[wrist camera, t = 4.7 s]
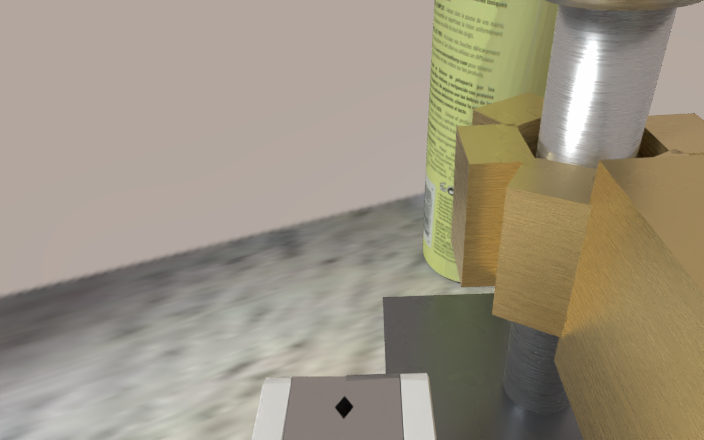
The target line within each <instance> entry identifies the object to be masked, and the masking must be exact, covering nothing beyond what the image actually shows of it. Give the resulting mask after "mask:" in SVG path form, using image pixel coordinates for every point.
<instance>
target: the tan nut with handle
mask: <svg viewBox="0 0 704 440" xmlns="http://www.w3.org/2000/svg"><path fill="white" fill-rule="evenodd" d="M543 103H544V98H543V97H541V96H538V95H536V94H533V93H530V92H527V93H524V94H521V95H518V96H514V97H511V98H508V99H505V100H502V101H498V102H495V103H492V104H489V105H485V106H482V107H479V108H476V109H473V119H472V126H456V147H455V168H454V189H453V210H452V231H451V243H452V248H453V252H454V257H455V261H456V266H457V270H458V275H459V279H460V283H461V287H480V286H495V293H494V301H493V310H492V315H495V316H498V317H501V318H504V319H507V320H510V321H513V322H516V323H519V324H522V325H525V326H528V327H531V328H534V329H536V330H539V331H542V332H545V333H548V334H551V335H554V336H557V337H559V340H558V345H557V349H556V354H555V358H554V362H555V365H556V367H557V370H558V373H559V375H560V378H561V381H562V383H563V386H564V389H565V391H566V394H567V397H568V399H569V402H570V405H571V407H572V410H573V412H574V415H575V418H576V420H577V423H578V426H579V428H580V431H581V434H582V436H583V439H584V440H704V120H702V119H701V118H700V117H699V116H697V115H696V114H695V113H692V114H675V115H656V116H648V117H647V121H646V125H645V128H644V132H643V136H642V139H641V143H640V147H639V150H638V154H637V158H630V159H610V160H599V163H598V167H597V169H593V168H588V167H583V166H577V165H572V164H567V163H561V162H556V161H550V160H545V159H540V158H536V151H537V144H538V137H539V131H540V124H541V117H542V110H543Z"/></svg>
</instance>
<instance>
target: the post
mask: <svg viewBox="0 0 704 440" xmlns="http://www.w3.org/2000/svg"><path fill="white" fill-rule="evenodd" d="M545 1H548V2H551V3H554V4H558V8H557V15H556V22H555V28H554V35H553V42H552V49H551V56H550V62H549V69H548V76H547V83H546V90H545V96H544V103H543V110H542V117H541V124H540V131H539V137H538V144H537V151H536V158H540V159H545V160H550V161H556V162H561V163H567V164H572V165H577V166H583V167H588V168H593V169H597V167H598V163H599V160H610V159H630V158H637V154H638V150H639V147H640V143H641V139H642V136H643V132H644V128H645V125H646V121H647V117H648V113H649V110H650V106H651V102H652V99H653V95H654V91H655V88H656V84H657V80H658V77H659V73H660V69H661V66H662V62H663V58H664V54H665V51H666V47H667V43H668V39H669V36H670V32H671V29H672V25H673V21H674V17H675V14H676V10H677V7H683V6H688V5H692V4H695V3H699V2H701V1H703V0H545ZM493 301H494V293H490V294H462V295H434V296H406V297H383V308H384V334H385V360H386V374H393V373H399V376H400V374H412V373H427V374H428V377H429V381H430V389H431V397H432V405H433V413H434V421H435V429H436V437H437V440H584V439H583V436H582V434H581V431H580V428H579V426H578V423H577V420H576V418H575V415H574V412H573V410H572V407H571V405H570V402H569V399H568V397H567V394H566V391H565V389H564V386H563V383H562V381H561V378H560V375H559V373H558V370H557V367H556V365H555V362H554V358H555V354H556V349H557V345H558V340H559V337H557V336H554V335H551V334H548V333H545V332H542V331H539V330H536V329H534V328H531V327H528V326H525V325H522V324H519V323H516V322H513V321H510V320H507V319H504V318H501V317H498V316H495V315H492V310H493Z"/></svg>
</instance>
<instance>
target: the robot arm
mask: <svg viewBox="0 0 704 440" xmlns="http://www.w3.org/2000/svg"><path fill="white" fill-rule="evenodd" d="M252 440H437V437H436V429H435V421H434V413H433V405H432V397H431V389H430V381H429V377H428V374H427V373H412V374H400V376H399V373H393V374H369V375H346V377H266V380H265V382H264V384H263V386H262V391H261V396H260V401H259V406H258V411H257V416H256V421H255V426H254V431H253V435H252Z"/></svg>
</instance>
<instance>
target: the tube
mask: <svg viewBox="0 0 704 440" xmlns="http://www.w3.org/2000/svg"><path fill="white" fill-rule="evenodd" d="M557 8H558V4H554V3H551V2H548V1H545V0H435V6H434V23H433V41H432V59H431V78H430V98H429V99H430V101H429V118H428V120H429V121H428V138H427V157H426V159H427V160H426V181H425V205H424V231H423V254H424V257H425V259H426V261H427V263H428V264H429V265H430V267H431V268H432V269H433V270H435V271H436V272H437V273H439V274H440V275H442V276H444V277H445V278H448V279H451V280H453V281H456V282H460V279H459V275H458V270H457V266H456V261H455V257H454V252H453V248H452V243H451V231H452V210H453V189H454V168H455V147H456V126H472V119H473V109H476V108H479V107H482V106H485V105H489V104H492V103H495V102H498V101H502V100H505V99H508V98H511V97H514V96H518V95H521V94H524V93H527V92H530V93H533V94H536V95H538V96H541V97H543V98H544V96H545V90H546V83H547V76H548V69H549V62H550V56H551V49H552V42H553V35H554V28H555V22H556V15H557Z"/></svg>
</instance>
